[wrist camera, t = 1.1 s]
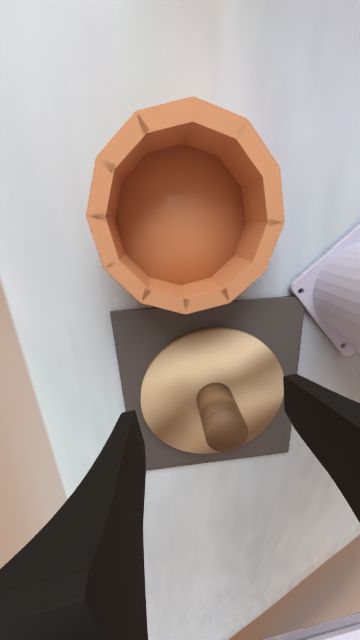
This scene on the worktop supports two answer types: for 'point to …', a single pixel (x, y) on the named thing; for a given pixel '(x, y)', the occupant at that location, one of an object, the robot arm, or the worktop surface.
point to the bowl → (185, 205)
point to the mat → (165, 326)
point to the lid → (211, 390)
